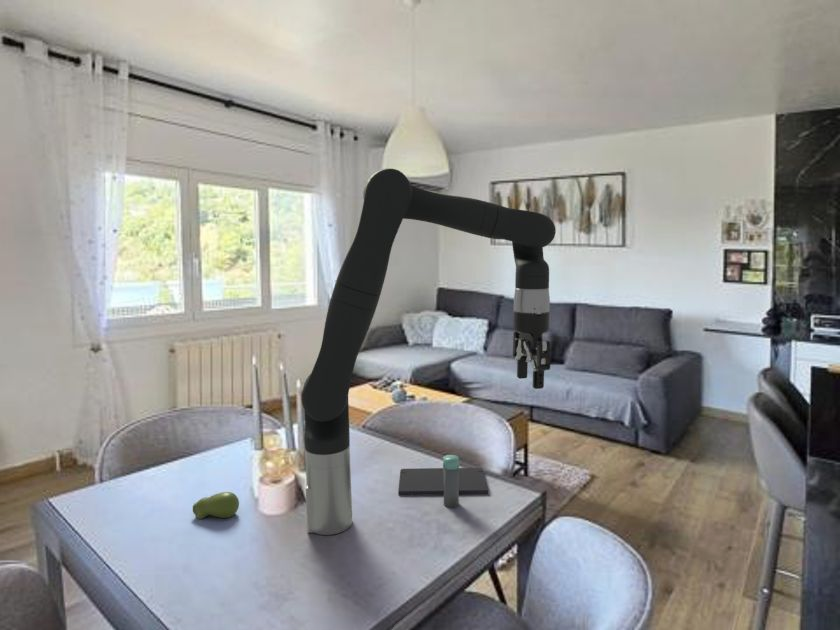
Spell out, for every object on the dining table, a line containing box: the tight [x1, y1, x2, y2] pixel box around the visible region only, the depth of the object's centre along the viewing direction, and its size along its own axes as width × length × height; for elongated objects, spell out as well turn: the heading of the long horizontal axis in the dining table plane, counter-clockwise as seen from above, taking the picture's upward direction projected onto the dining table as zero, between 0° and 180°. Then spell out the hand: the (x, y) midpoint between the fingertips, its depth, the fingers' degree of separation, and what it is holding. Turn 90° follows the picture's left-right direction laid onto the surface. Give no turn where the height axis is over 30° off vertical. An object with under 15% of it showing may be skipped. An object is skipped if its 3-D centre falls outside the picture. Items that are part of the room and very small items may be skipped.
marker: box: [442, 454, 460, 509], centre depth 118 cm, size 4×4×11 cm
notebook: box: [397, 467, 489, 496], centre depth 130 cm, size 13×2×21 cm
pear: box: [192, 491, 240, 520], centre depth 116 cm, size 6×5×10 cm
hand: (529, 383), depth 114 cm, fingers open, 8 cm apart
